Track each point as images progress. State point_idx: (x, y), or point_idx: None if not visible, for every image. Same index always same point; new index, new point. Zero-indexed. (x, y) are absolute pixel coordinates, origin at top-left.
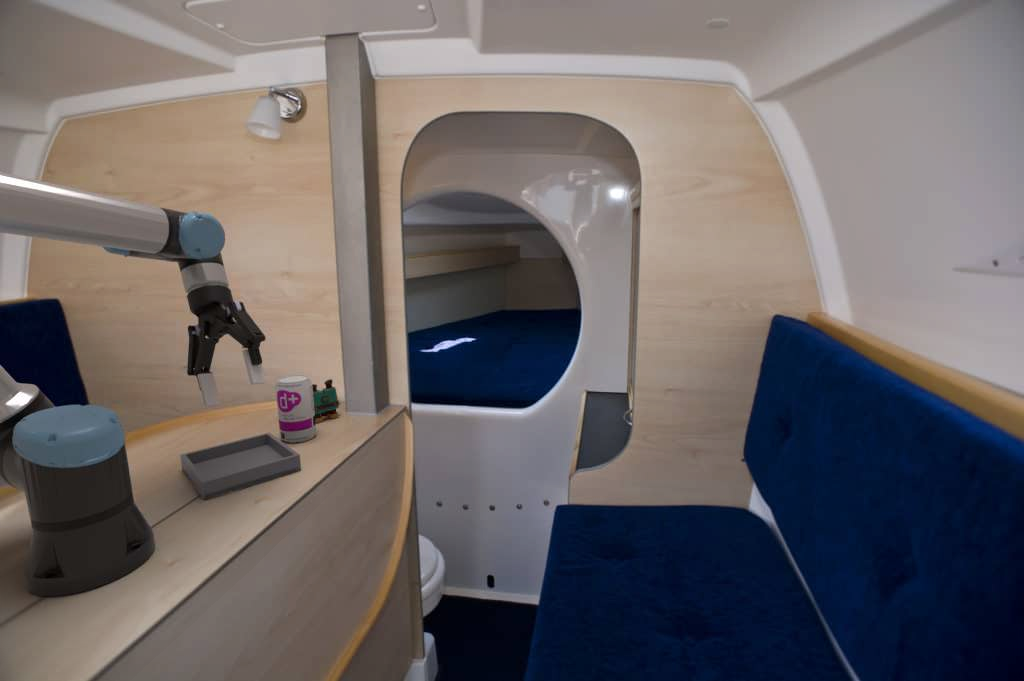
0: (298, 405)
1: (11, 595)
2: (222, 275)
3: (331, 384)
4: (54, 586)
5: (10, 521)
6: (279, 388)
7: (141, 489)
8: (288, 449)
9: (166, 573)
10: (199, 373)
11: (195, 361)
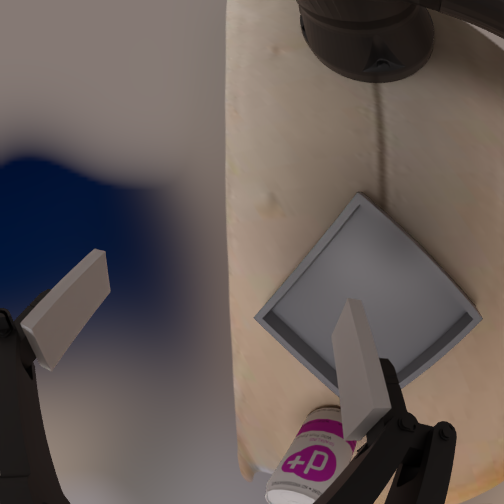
0: (293, 452)
1: None
2: None
3: None
4: None
5: None
6: (314, 485)
7: (497, 226)
8: (284, 341)
9: (267, 37)
10: (387, 423)
11: (410, 487)
